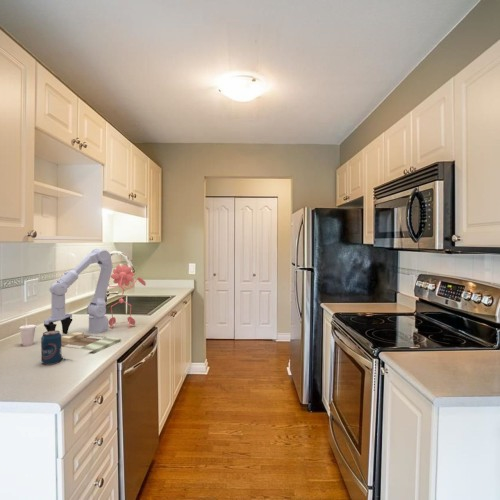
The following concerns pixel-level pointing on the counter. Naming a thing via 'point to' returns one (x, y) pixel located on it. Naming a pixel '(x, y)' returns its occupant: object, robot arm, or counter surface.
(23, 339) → the smoothie
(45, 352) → the soda can
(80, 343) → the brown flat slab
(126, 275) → the figurine
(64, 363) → the counter surface
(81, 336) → the block
